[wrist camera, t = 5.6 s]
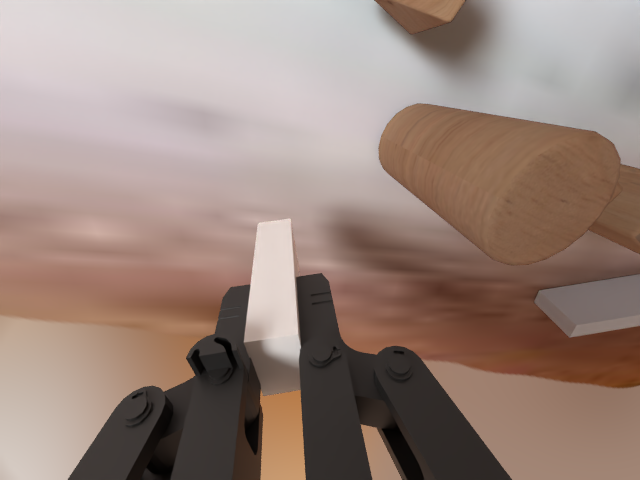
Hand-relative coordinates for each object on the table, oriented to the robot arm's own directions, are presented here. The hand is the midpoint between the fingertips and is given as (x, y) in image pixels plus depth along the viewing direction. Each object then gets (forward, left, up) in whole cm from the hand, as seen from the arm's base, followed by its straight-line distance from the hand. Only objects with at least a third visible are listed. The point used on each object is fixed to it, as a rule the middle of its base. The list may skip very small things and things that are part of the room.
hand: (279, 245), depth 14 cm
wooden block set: (-3, +11, -6) cm, 13 cm away
